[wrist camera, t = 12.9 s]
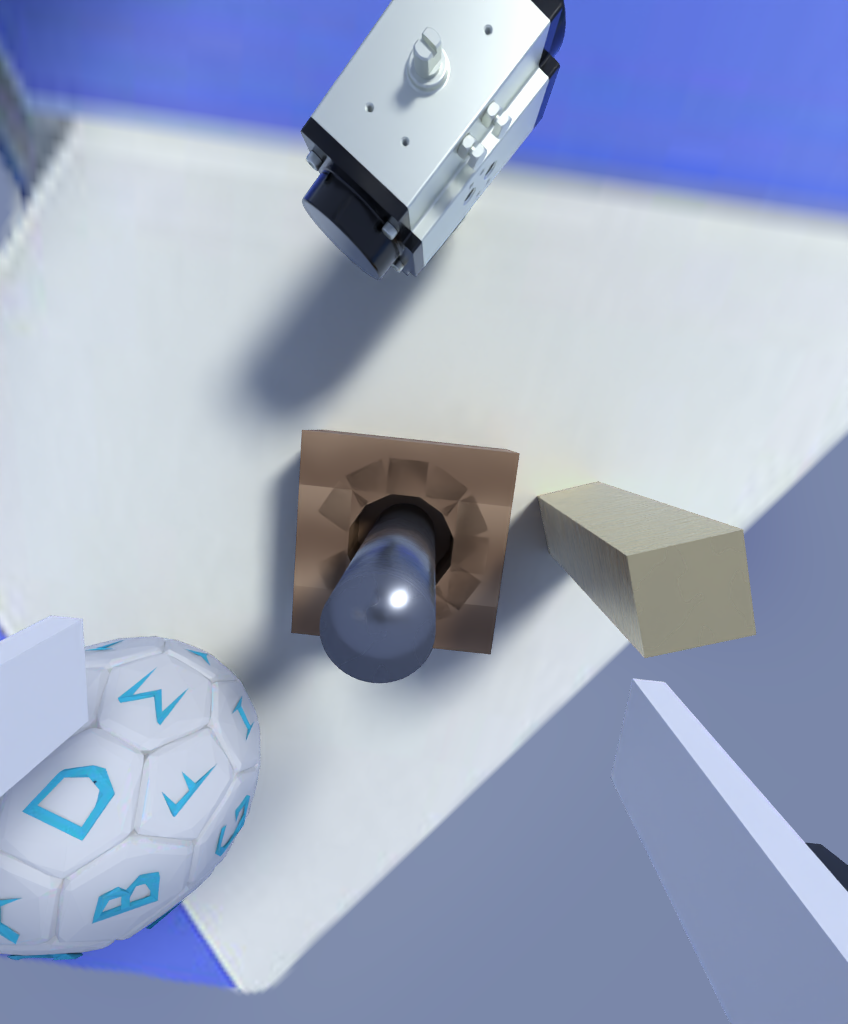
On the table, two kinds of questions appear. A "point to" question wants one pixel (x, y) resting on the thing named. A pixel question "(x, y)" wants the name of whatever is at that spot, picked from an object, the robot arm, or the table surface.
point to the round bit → (385, 600)
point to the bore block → (413, 480)
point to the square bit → (652, 566)
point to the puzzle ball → (127, 800)
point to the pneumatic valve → (427, 123)
